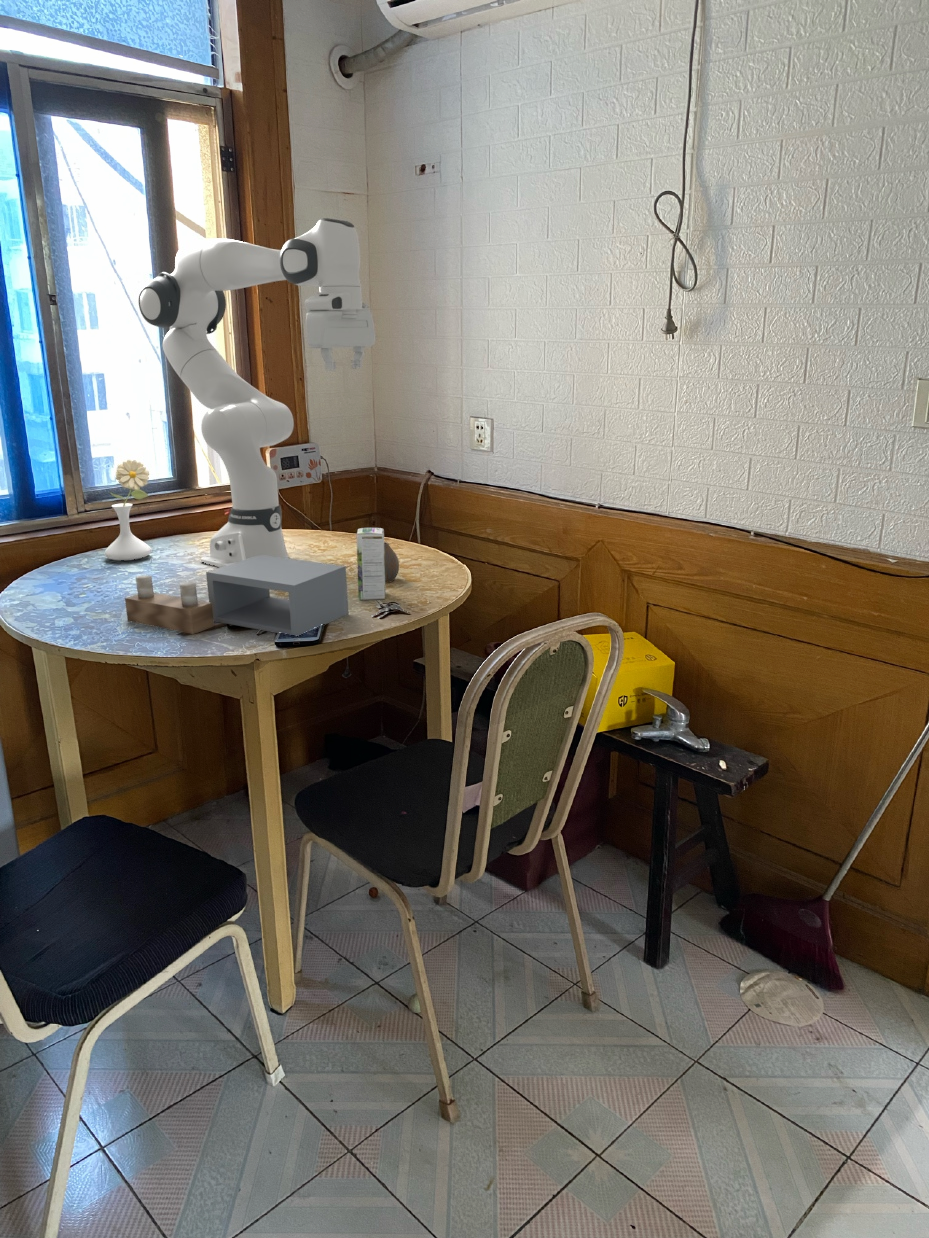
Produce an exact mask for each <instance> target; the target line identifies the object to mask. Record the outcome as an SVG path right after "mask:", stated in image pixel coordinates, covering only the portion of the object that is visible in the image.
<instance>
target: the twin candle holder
mask: <svg viewBox="0 0 929 1238" xmlns="http://www.w3.org/2000/svg"><path fill="white" fill-rule="evenodd" d="M135 584H136V589H137V593H136V594H133V595H130V596H127V597H124V601H125V602H124V604H125V609H126V617H127V619H126V620H127V622H130V621H132V622H131V623H137V624H140V623H141V625H145V624H146V626H152V627H154V628H156V627H157V628H162V629H166V630H170V631H177V632H181V633H185V634H186V633H187V634H191V635H195V634H197V633H199V632H203V631H206V630H208V629H211V628H213V627H215V621H213V611H212V603H210V602H209V601H203V600H198V592H197V583H196V582H189V581H188V582H182V583H180V584H179V590H180V591H179V594H180V596H175V595H170V594H164V593H157V592H155V591H154V585H153V576H152V575H150V574H149V575H148V574H146V575H145V574H144V575H138V576H136V577H135Z"/></svg>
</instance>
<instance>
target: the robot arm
mask: <svg viewBox="0 0 929 1238" xmlns="http://www.w3.org/2000/svg"><path fill="white" fill-rule="evenodd" d="M315 224H316V225H315V226H313V228H311V229H310V230H309V231H307V232H305V233H304V234H302V235H299V236H297V237H294V238H290V239H288V240H287V241H286V242H285V243H284V244H283V246H282V248H281V249H276V248H275V249H273V248H269V247H265V246H260V245H256V244H252V243H249V242H245V241H244V242H243V241H240V240H235V239H230V238H210V239H209V238H207V239H203V240H197V241H194V242H190V243H188V244H186V245H184V246H181V248H180V249H179V250H178V251H177V253H176V256H175V260H174V261H175V263H174V264H175V265H174V267H175V268H174V270H173V272H172V273H168V272H166V271H162V272H160V273H159V274H158V275H157V276H156V277H155V278H153V279H151V280H149V281H148V282H146V283H145V284H144V285H143V286H142V287H141V290H140V292H139V294H138V306H139V307H138V308H139V311H140V314H141V315H142V318H143V319H144V320H145V322H147V323H148V324H150V325H152V326H154V327H158V328H162V329H163V328H164V329H168V328H169V331H168V332H166V334H165V336H164V338H163V341H162V349H163V352H164V353H163V354H164V355H165V357H166V359H167V361H168V362H169V364H170V366H171V367H172V369H173V370H174V371H175V373H176V374H177V375H178V377H179V379H180V380H181V381H182V383H183V384H185V386H186V387H187V388H188V389H189V391H190V392H191V394H193V396H194V398H196V399H197V400H198V402H199V403H200V404H202V405H203V406H204V407H206V408H208V409H210V410H208V411H207V412H206V413H204V416H203V417H202V420H201V429H200V430H201V435H202V437H203V440H204V442H205V443H206V444H207V446H208V447H209V448H211V449H213V451H215V452H216V453H217V455H218V456H219V457H220V459H221V460H222V463H223V465H224V466H225V469H226V471H227V476H228V479H229V486H230V487H229V488H230V493H231V494H230V495H231V502H232V507H231V508H228V509H224V512H225V513H224V515H225V516H227V515H228V520H227V523H225V524H224V525H223V526H222V527H221V528H220V529H218V531H216V532H215V534H213V535H212V536H211V538H210V542H209V553H208V554H206V555H204V556H202V557H201V558H200V563H202V562H204V563H203V564H205V563H206V565H209V564H210V566H213V565H215V566H214V567H218V568H220V567H224V566H227V565H230V564H233V563H236V562H239V561H243V560H246V559H249V558H252V557H255V556H258V555H267V556H274V557H282V558H289V559H290V557H289V554H288V551H287V547H286V544H285V539H284V538H285V537H284V534H283V529H282V519H283V517H282V515H283V514H282V506H281V504H279V503H280V502H279V491H278V477H277V474H276V472H275V470H274V469H273V468H272V467H270V466H268V465H267V464H266V463H265V461H264V458H263V457H262V453H261V448H264V447H271V446H275V445H277V444H279V443H282V442H283V441H285V440H287V439H289V437H290V436H291V435H292V434H293V431H294V426H295V425H294V416H293V414H292V411H291V410H290V408H289V407H288V406H287V405H286V404H284V403H283V402H280V401H278V400H275V399H273V398H271V397H269V396H267V395H266V394H265V393H263V392H261V391H260V390H259V389H257V388H256V387H254V386H253V385H251V384H250V383H249V382H247V381H246V380H245V379H243V378H242V377H241V376H240V375H239V374H238V373H237V372H236V371H235V370H234V368H232V367H231V365H230V364H229V363H228V362H227V361H226V360H225V358H224V357H223V356H222V355H221V354H220V352H219V351H218V350H217V349H216V348H215V347H214V346H213V344H212V343H211V341H210V340H209V339H208V338H209V337H208V336H207V335H209V334H212V333H214V332H215V331H216V330H217V328H218V325H219V323H221V322H222V320H223V318H224V315H225V312H226V308H227V299H226V294H225V293H224V291H234V290H240V289H244V288H250V287H254V286H258V285H263V284H264V285H265V284H269V283H274V282H278V281H280V282H281V281H287V282H289V283H290V284H293V285H296V286H298V287H299V286H301V287H318V288H319V290H318V291H319V292H316V293H315V294H314V295H311V296H309V297H308V298H306V299H305V300H304V309H305V310H306V311H307V313H306V314H305V315H306V316H305V335H306V342H307V345H308V346H309V347H310V348H311V349H320V355H321V357H322V359H323V361H324V367H325V371H327V372H328V371H332V372H333V371H336V370H337V362H336V361H334V358H333V356H332V354H333V353H334V350H333V349H335V348H337V349H338V348H352V349H353V350H352V351H353V353H354V356H353V359H352V360H351V362H350V363H351V368H352V369H357V370H358V369H362V367H363V358H364V356H365V351H366V348H365V347H373V346H374V345H375V343H376V331H375V324H374V323H375V321H374V317H373V313H372V312H371V308H370V307H369V306H368V303H366V302H363V297H362V296H363V295H362V294H363V293H362V282H361V280H360V279H361V278H360V268H361V249H360V241H359V240H360V239H359V234H358V232H357V231H358V230H357V229H356V226H355V225H354V224H353V223H352V222H350V221H347V220H342V219H334V218H328V217H327V218H326V217H325V218H321V219H319V220H318V221H317V223H315Z"/></svg>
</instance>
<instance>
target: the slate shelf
mask: <svg viewBox="0 0 929 1238" xmlns="http://www.w3.org/2000/svg"><path fill="white" fill-rule="evenodd" d="M205 574H206V576H205V577H206V585H207V593H208V602H210V603H212V611H213V621H214V622H217V623H222V624H227V625H233V626H238V627H244V628H250V629H254V630H261V631H266V632H269V633H270V632H271V633H276V634H280V633H279V632H282V633H287V634H291V635H297V636H298V635H301V634H303V633H304V632H306V631H309V630H310V629H313V628H314V627H317V626H319V625H321V624H325V625H327V624H330V623H332V622H333V621H337V620H339V619H341V618H343V617H345V616H347V615H349V602H348V601H349V600H348V587H347V586H348V584H347V583H348V582H347V566H346V565H338V564H331V563H324V562H316V561H310V560H302V559H296V558H290V557H289V558H282V557H274V556H267V555H258V556H255V557H252V558H249V559H246V560H243V561H239V562H236V563H233V564H230V565H227V566H224V567H218V568H215V569H212V570H208V571H206V572H205ZM270 590H271V591H279V592H284V593H288V598H287V599H286V598H280V597H273V596H271V595H270ZM291 635H290V636H291ZM303 635H304V634H303ZM297 636H296V637H297ZM301 636H302V635H301ZM298 637H299V636H298Z"/></svg>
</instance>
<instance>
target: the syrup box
mask: <svg viewBox="0 0 929 1238" xmlns="http://www.w3.org/2000/svg"><path fill="white" fill-rule="evenodd" d="M384 542H385V530H384V528H381V527H361V528H358V529H357V532H356V555H357V556H356V561H357V562H356V563H357V583H358V584H357V586H358V592H357V593H358V600H361V601H363V600H364V601H366V600H368V601H370V600H383V599H386V582H385V556H384Z"/></svg>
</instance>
